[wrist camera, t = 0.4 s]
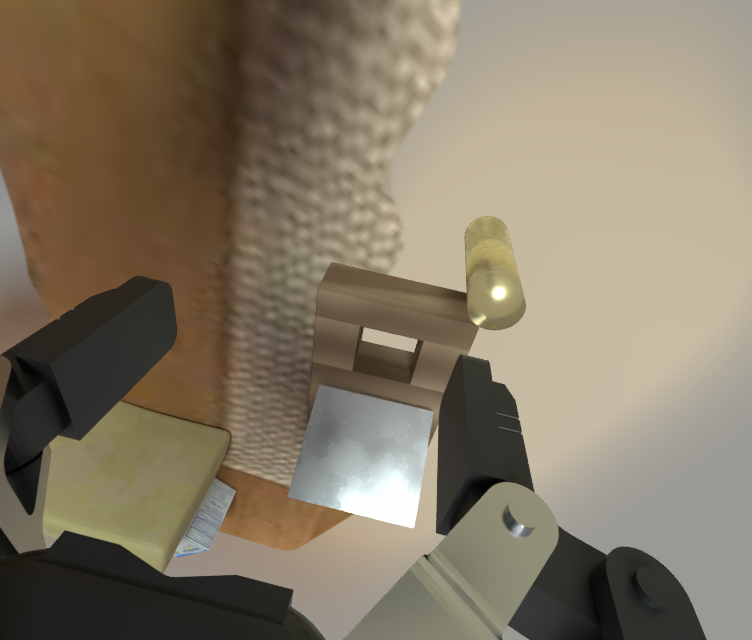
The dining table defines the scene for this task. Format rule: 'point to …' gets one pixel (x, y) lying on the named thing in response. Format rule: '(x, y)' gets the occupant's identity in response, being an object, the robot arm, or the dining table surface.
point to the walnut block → (394, 315)
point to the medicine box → (206, 519)
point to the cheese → (133, 480)
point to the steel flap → (363, 456)
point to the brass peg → (492, 276)
